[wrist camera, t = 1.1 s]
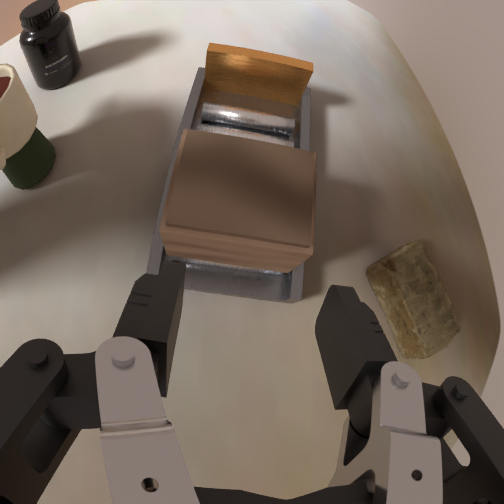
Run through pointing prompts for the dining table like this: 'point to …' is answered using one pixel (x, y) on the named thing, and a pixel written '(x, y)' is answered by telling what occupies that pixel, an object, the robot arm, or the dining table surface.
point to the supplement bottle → (49, 44)
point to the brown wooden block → (240, 202)
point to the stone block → (414, 301)
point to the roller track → (227, 275)
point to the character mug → (21, 134)
